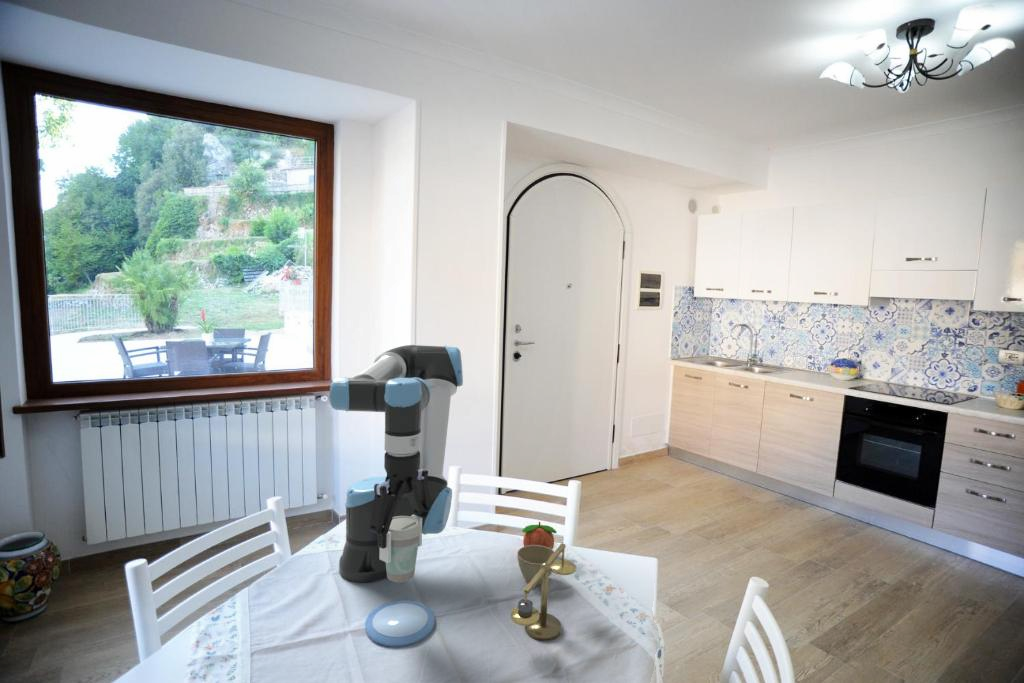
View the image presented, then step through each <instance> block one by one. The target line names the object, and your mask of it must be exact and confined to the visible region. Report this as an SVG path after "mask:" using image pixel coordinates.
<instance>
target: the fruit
mask: <svg viewBox="0 0 1024 683" xmlns="http://www.w3.org/2000/svg"><path fill="white" fill-rule="evenodd" d="M521 533H524V535H523V539H522V542H523V544H522V545H523V547H525V546H529V545H540V546H545V547H548V548H550V549H552V550H553V551H554V547H555V538H554V534H557V530H556V529H555V528H553V527H552V526H549V525H545V524H541V521H538V524H530V525H527V526H525V527H524V528H523V529H522V530H521Z"/></svg>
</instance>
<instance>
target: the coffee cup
mask: <svg viewBox="0 0 1024 683" xmlns="http://www.w3.org/2000/svg"><path fill="white" fill-rule="evenodd" d="M383 527H384V526H383ZM388 531H389V532H391V562H390V563H387V562H386V570H387V577H386V578H387V579H388V580H389V581H391V582H394V583H405V582H408V581H410V580H412V579H413V578H414V577H415V573H416V572H415V571H416V564H417V556H418V549H419V546H418V543H419V536H420V533H421V526H420V524H419V521H418V520H417V519H416V518H414V517H410V516H396V517H393V518H392V521H391V524H390V527H389V530H388Z"/></svg>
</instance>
